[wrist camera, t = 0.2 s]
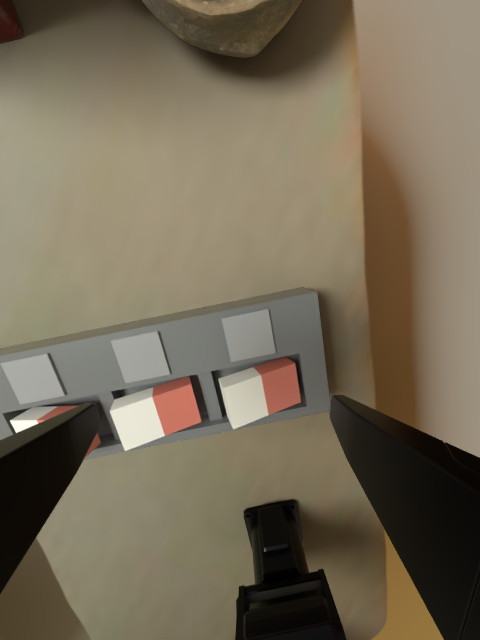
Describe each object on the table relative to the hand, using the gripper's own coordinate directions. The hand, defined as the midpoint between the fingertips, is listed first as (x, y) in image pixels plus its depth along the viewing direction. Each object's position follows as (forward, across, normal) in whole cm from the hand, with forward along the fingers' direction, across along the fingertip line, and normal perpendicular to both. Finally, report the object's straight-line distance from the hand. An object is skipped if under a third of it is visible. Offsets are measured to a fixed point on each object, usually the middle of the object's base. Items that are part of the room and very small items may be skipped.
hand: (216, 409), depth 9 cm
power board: (+14, +6, +5) cm, 16 cm away
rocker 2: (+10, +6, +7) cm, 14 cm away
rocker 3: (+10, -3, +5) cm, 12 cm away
